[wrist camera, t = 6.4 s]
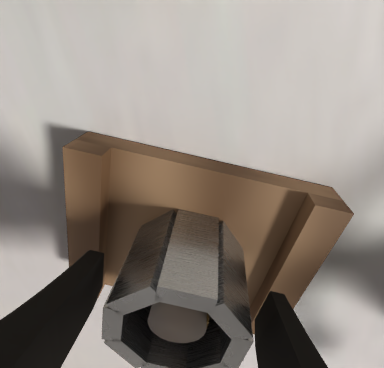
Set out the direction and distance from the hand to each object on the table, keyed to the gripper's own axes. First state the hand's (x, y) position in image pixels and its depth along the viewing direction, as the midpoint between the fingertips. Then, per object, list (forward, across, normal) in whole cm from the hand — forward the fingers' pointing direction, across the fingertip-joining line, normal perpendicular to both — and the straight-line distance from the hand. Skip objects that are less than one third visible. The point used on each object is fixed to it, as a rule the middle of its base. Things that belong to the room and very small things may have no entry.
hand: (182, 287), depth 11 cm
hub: (+3, 0, +1) cm, 3 cm away
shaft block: (+4, 0, 0) cm, 4 cm away
